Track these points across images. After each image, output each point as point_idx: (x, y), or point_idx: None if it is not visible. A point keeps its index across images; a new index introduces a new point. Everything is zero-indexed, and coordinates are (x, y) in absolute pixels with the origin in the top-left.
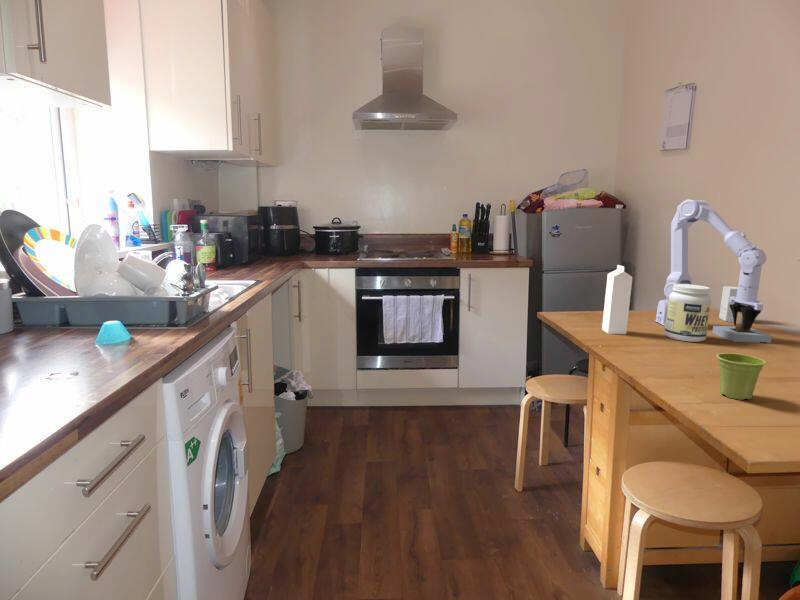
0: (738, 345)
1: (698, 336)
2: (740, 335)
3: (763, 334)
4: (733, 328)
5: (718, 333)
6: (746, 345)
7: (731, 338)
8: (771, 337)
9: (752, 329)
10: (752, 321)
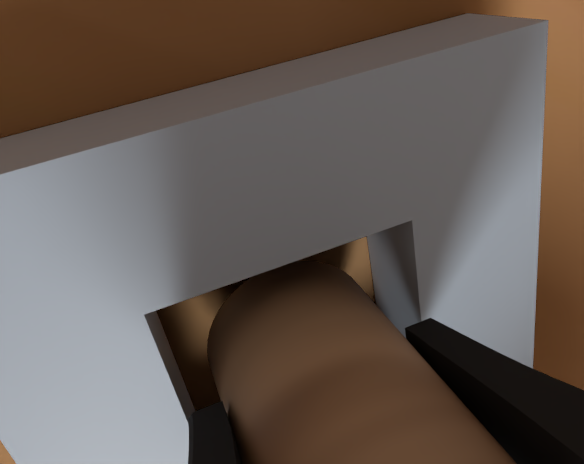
0: (580, 360)
1: None
2: None
3: (496, 134)
4: None
5: None
6: (577, 305)
7: None
8: (525, 20)
9: (126, 198)
10: (546, 394)
